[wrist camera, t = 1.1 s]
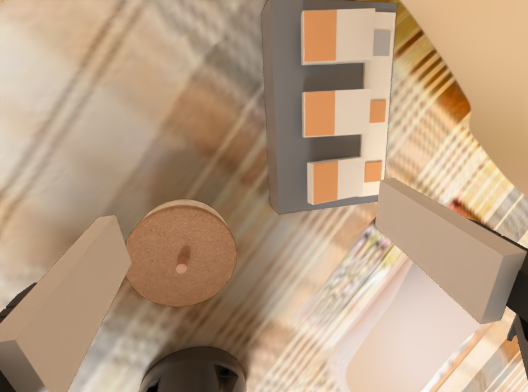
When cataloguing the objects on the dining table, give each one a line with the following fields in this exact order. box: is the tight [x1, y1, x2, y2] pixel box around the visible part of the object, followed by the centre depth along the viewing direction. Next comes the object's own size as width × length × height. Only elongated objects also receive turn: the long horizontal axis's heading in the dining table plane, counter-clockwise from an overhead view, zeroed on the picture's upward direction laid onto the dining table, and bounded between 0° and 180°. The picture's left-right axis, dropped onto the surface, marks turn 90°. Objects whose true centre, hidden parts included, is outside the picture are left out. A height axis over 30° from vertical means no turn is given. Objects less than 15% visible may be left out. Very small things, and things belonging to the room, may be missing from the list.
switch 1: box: [301, 8, 375, 65], centre depth 26 cm, size 4×7×1 cm, turn 93°
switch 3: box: [307, 156, 364, 205], centre depth 29 cm, size 4×7×1 cm, turn 93°
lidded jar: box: [125, 199, 237, 307], centre depth 29 cm, size 11×11×9 cm
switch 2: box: [302, 89, 371, 138], centre depth 28 cm, size 4×7×1 cm, turn 93°
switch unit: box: [261, 0, 397, 214], centre depth 31 cm, size 22×14×5 cm, turn 3°
